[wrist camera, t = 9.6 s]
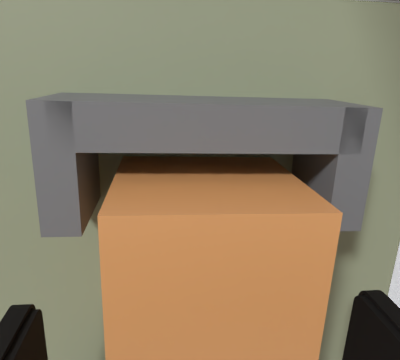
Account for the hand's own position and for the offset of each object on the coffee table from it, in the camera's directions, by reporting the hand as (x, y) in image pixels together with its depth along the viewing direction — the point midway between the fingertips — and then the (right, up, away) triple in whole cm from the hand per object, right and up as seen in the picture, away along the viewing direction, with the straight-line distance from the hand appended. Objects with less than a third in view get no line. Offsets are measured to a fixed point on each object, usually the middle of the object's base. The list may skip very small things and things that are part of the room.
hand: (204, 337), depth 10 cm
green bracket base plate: (-1, +1, +4) cm, 4 cm away
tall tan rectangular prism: (0, +1, +3) cm, 3 cm away
